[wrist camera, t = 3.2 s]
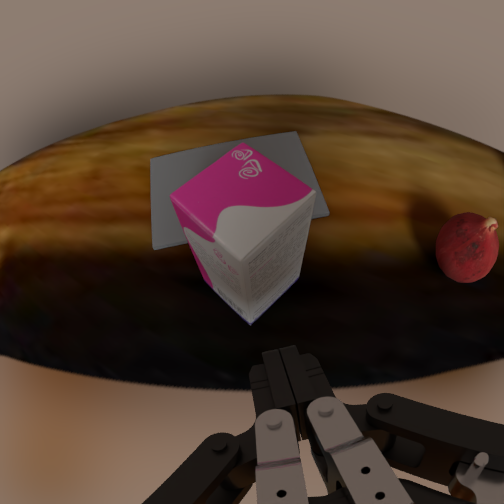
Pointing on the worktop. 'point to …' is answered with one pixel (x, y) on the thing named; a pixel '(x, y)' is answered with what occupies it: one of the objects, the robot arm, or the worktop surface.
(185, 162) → the mat
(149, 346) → the worktop surface
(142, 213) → the worktop surface
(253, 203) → the supplement box
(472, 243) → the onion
